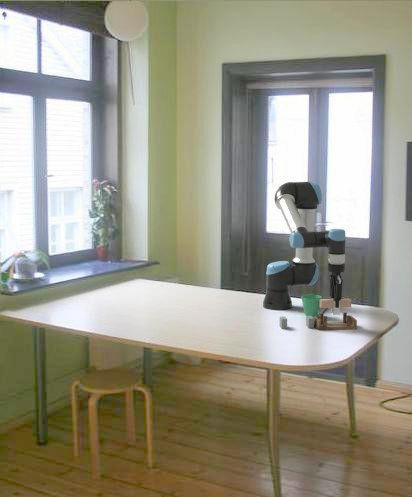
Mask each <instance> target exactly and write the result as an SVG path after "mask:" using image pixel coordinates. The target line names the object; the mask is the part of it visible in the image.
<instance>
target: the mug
mask: <svg viewBox="0 0 412 497" xmlns="http://www.w3.org/2000/svg"><path fill="white" fill-rule="evenodd" d="M322 298H323V297H322V296H321V295H319V294H304V295H301V302H302V308H303V312H304V313H305V314H304V315H305V317H306V316H312V317H313V318H314V316H316V317H320V313H324V314H325V313H327V312H328V311H329V310H330V308H324V310H323V311H322V312H319V310H320V308H321V307H320V299H322Z"/></svg>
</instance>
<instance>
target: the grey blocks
mask: <svg viewBox="0 0 412 497" xmlns="http://www.w3.org/2000/svg"><path fill="white" fill-rule="evenodd" d="M305 326H306V327H307V329H315V326H314V318H313V317H312V316H306V315H305ZM279 327H280V328H281V329H282V330H285V329H288V318H287V317H286V316H279Z"/></svg>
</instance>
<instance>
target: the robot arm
mask: <svg viewBox="0 0 412 497" xmlns="http://www.w3.org/2000/svg"><path fill="white" fill-rule="evenodd" d="M322 194H323V193H322V191H321V187H320V185H319V184H318V183H317V182H315V181H294V182H293V181H287V182H285V183H283V184H281V185H280V186H279V187H278V188H277V190H276V191H275V194H274V203H275V206H276V208H277V209H278V210H280V211H281V212H280V213H281V214H282V215H283V216H282V217H283V218H284V220H285V223H286V225H287V227H288V229H289V231H290V234H289V237H288V238H289V245H290V248H293V249H295V256H294V258H293V259H292V263H290V262H289V261H287V260H279V261H274V262H270V263H269V264H268V265H267V266H266V272H265V274H266V290H265V291H266V292H265V295H264V297H263V301H262V306H263V308H265V309H269V310H277V311H278V310H288V309H291V308H292V307H293V302H292V298H291V294H290V287H307V286H308V287H309V286H313V285H315V284H316V283H317V281H318V278H319V275H320V274H319V273H320V270H319V265H318V263H317V262H316V260H315V259H314V258H313V250H314V249H315V248H320V249H321V248H328V250H327V253H328V255H327V256H326V257H327V262H328V263H327V272H329V273H331V274H329V296H330V299H333V301H334V303H333V308H330V312H331V313H332V314H333V315H340V314H341V313H340V310H341V309H340V300H341V299H342V294H343V281H344V280H343V278H342V275H341V273H344V272H345V269H346V268H345V266H346V264H345V262H346V238H347V236H346V230H345V229H342V228H330V229H329V230H327V229H324V230H321V231H320V230H319V231H314V222H315V221H314V220H315V211H317V210H318V206H319V205H321V203H322V201H323V195H322ZM313 248H314V249H313Z"/></svg>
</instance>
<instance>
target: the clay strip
mask: <svg viewBox="0 0 412 497" xmlns="http://www.w3.org/2000/svg"><path fill="white" fill-rule="evenodd" d="M333 303H334V301H333V299H332V298H323V299H320V308H321V309H326V308H329V309H331V308H333ZM340 308H341V309H342V308H352V299H351V298H341V300H340Z"/></svg>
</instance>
